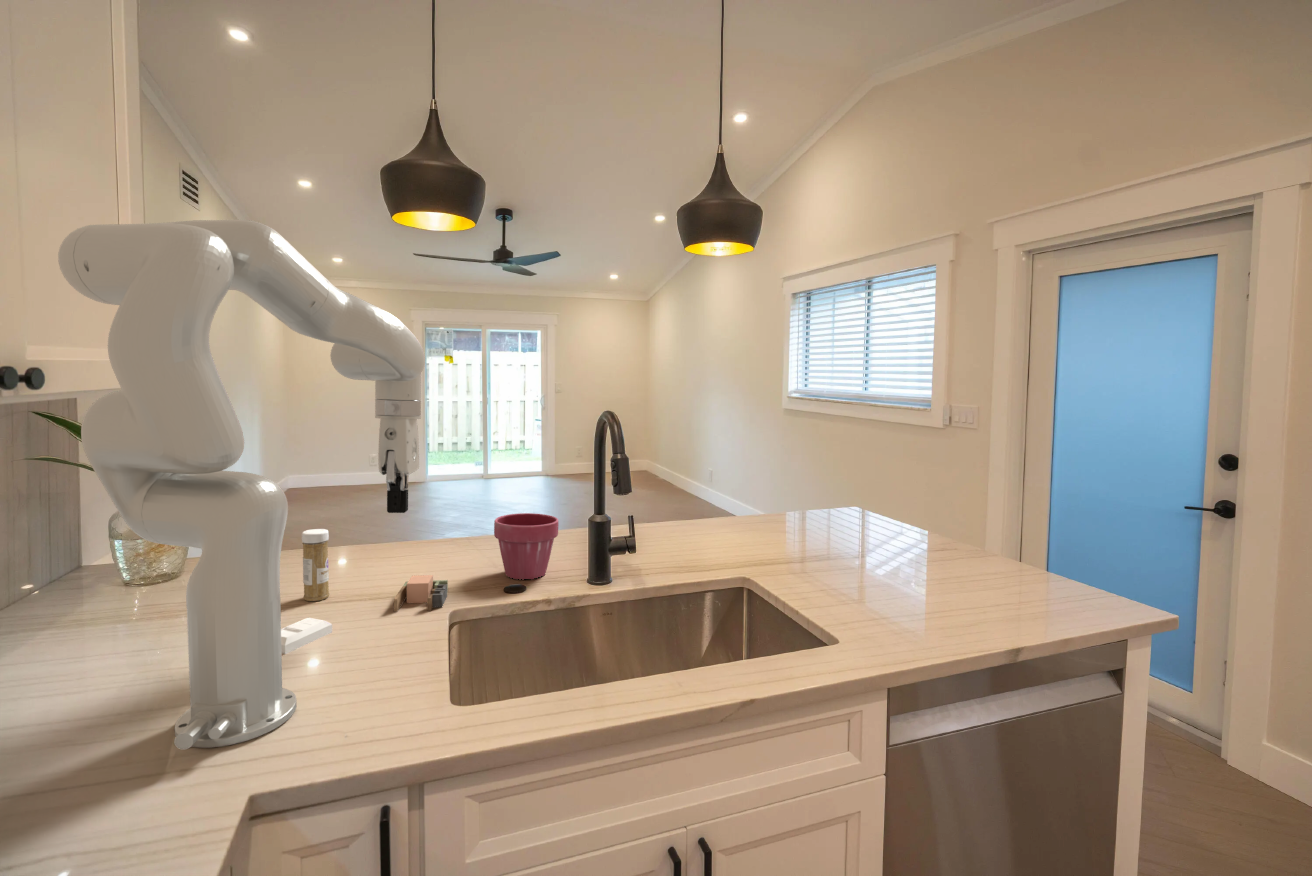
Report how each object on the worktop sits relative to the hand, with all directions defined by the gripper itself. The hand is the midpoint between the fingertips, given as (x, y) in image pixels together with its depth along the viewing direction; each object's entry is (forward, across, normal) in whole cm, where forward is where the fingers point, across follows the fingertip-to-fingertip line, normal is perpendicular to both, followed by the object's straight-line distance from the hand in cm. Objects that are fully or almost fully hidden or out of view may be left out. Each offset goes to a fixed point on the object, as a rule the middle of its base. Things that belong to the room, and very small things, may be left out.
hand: (397, 511), depth 108 cm
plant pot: (+19, +24, -22) cm, 38 cm away
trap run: (+20, +8, -2) cm, 21 cm away
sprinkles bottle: (+20, +12, +18) cm, 29 cm away
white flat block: (+20, -8, +13) cm, 26 cm away
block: (+20, +10, -2) cm, 22 cm away
